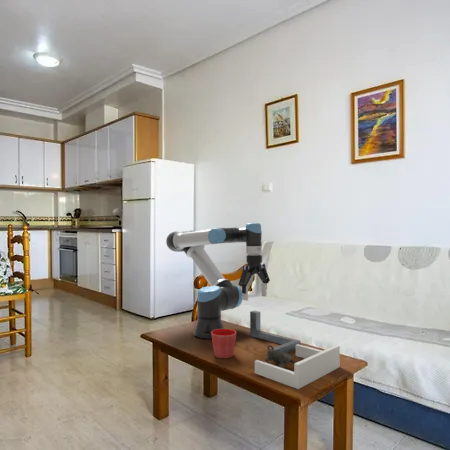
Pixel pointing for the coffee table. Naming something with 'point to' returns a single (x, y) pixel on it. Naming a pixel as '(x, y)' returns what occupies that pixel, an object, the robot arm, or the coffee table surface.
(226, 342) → the flower pot
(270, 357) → the dog figurine
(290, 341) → the crook
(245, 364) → the coffee table surface
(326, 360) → the low cubby
